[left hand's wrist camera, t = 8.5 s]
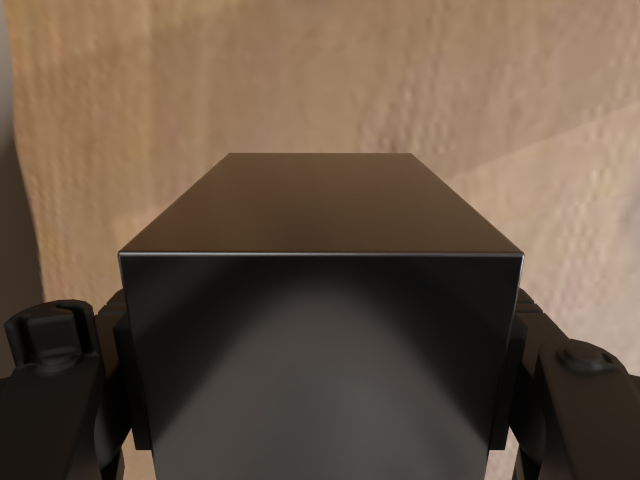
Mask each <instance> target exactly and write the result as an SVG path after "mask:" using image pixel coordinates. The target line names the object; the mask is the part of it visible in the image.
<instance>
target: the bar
mask: <svg viewBox="0 0 640 480" xmlns="http://www.w3.org/2000/svg"><path fill="white" fill-rule="evenodd" d="M118 262H119V268H120V273H121V279H122V285H123V291H124V296H125V302H126V308H127V314H128V319H129V325H130V331H131V337H132V342H133V348H134V354H135V360H136V365H137V371H138V377H139V383H140V388H141V394H142V400H143V406H144V411H145V417H146V423H147V429H148V434H149V440H150V446H151V451H152V457H153V463H154V469H155V474H156V480H484V477H485V472H486V466H487V461H488V455H489V450H490V444H491V439H492V433H493V428H494V422H495V417H496V411H497V406H498V400H499V395H500V389H501V383H502V378H503V372H504V367H505V361H506V356H507V350H508V345H509V339H510V334H511V328H512V323H513V317H514V312H515V306H516V301H517V295H518V290H519V284H520V279H521V273H522V268H523V262H524V252H522V251H521V250H520V249H519V248H518V247H517V246H516V245H514V244H513V243H512V242H511V241H510V240H509V239H508V238H507V237H505V236H504V235H503V234H502V233H501V232H500V231H499V230H498V229H496V228H495V227H494V226H493V225H492V224H491V223H490V222H488V221H487V220H486V219H485V218H484V217H483V216H482V215H481V214H479V213H478V212H477V211H476V210H475V209H474V208H473V207H471V206H470V205H469V204H468V203H467V202H466V201H465V200H464V199H462V198H461V197H460V196H459V195H458V194H457V193H456V192H454V191H453V190H452V189H451V188H450V187H449V186H448V185H447V184H445V183H444V182H443V181H442V180H441V179H440V178H439V177H437V176H436V175H435V174H434V173H433V172H432V171H431V170H430V169H428V168H427V167H426V166H425V165H424V164H423V163H422V162H420V161H419V160H418V159H417V158H416V157H415V156H414V155H413V154H411V153H229V154H228V155H226V156H225V157H224V158H223V159H222V160H221V161H220V162H219V163H217V164H216V165H215V166H214V167H213V168H212V169H211V170H210V171H208V172H207V173H206V174H205V175H204V176H203V177H202V178H201V179H199V180H198V181H197V182H196V183H195V184H194V185H193V186H192V187H190V188H189V189H188V190H187V191H186V192H185V193H184V194H183V195H181V196H180V197H179V198H178V199H177V200H176V201H175V202H174V203H172V204H171V205H170V206H169V207H168V208H167V209H166V210H165V211H164V212H162V213H161V214H160V215H159V216H158V217H157V218H156V219H155V220H153V221H152V222H151V223H150V224H149V225H148V226H147V227H146V228H144V229H143V230H142V231H141V232H140V233H139V234H138V235H137V236H135V237H134V238H133V239H132V240H131V241H130V242H129V243H128V244H126V245H125V246H124V247H123V248H122V249H121V250H120V251H119V252H118Z"/></svg>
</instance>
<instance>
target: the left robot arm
mask: <svg viewBox="0 0 640 480" xmlns="http://www.w3.org/2000/svg"><path fill="white" fill-rule="evenodd" d="M4 328H5V331H6V335H7V338H8V342H9V345H10V349H11V352H12V355H13V359H14V362H15V366H16V368H15V370H14V371H13V373H12V375H11V376H10V377H7V378H2V379H0V480H123V475H124V468H125V465H124V457H123V452H122V447H121V446H122V444H123V442H124V440H125V439H126V437H127V435H128V433H129V431H130V429H131V428H132V433H133V438H134V443H135V448H136V450H151V446H150V440H149V434H148V429H147V423H146V417H145V411H144V406H143V400H142V394H141V388H140V383H139V377H138V371H137V365H136V360H135V354H134V348H133V342H132V337H131V331H130V325H129V319H128V314H127V308H126V302H125V296H124V291H123V289H121V290H119V291H118V292H116V293H115V295H114V296H113V297H112V298H111V299H110V300H109V301H108V302H107V305H104V306H103V307H102V309H101V310H100V311H99V312H98V315H95V316H94V313H93V308H92V306H91V305H90V304H88V303H87V302H85V301H80V300H74V299H73V300H57V301H52V302H47V303H42V304H39V305H36V306H33V307H30V308H27V309H25V310H23V311H21V312H19V313H18V314H16V315H14V316H12V317H11V318H10V319H9V320H8V321H7V322H6V323H5V324H4ZM509 426H510V428H511V430H512V432H513V433H514V435H515V437H516V439H517V441H518V443H519V447H518V452H517V457H516V462H515V467H514V471H513V476H512V480H640V377H639V376H634V375H630V374H628V372H627V370H626V368H625V367H624V365H623V364H622V363H621V362H620V361H619V360H618V359H617V358H616V357H615V356H613V355H612V354H610V353H609V352H607V351H606V350H604V349H602V348H600V347H597V346H595V345H592V344H590V343H587V342H583V341H579V340H574V339H569V338H568V337H567V336H566V335H565V334H564V333H563V332H562V331H561V330H560V329H559V327H558V326H557V325H556V324H555V323H554V322H553V321H552V320H551V319H550V318H549V317H548V316H547V315H546V314H545V313H543V310H542V309H541V308H540V307H539V306H538V305H537V304H534V301H533V300H532V299H531V297H530V296H529V295H528V294H527V293H526V292H525V291H524V290H522V289H521V288H519V290H518V295H517V301H516V306H515V312H514V317H513V323H512V328H511V334H510V339H509V345H508V350H507V356H506V361H505V367H504V372H503V378H502V383H501V389H500V395H499V400H498V406H497V411H496V417H495V422H494V428H493V433H492V439H491V444H490V450H505V446H506V440H507V435H508V430H509Z"/></svg>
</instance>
